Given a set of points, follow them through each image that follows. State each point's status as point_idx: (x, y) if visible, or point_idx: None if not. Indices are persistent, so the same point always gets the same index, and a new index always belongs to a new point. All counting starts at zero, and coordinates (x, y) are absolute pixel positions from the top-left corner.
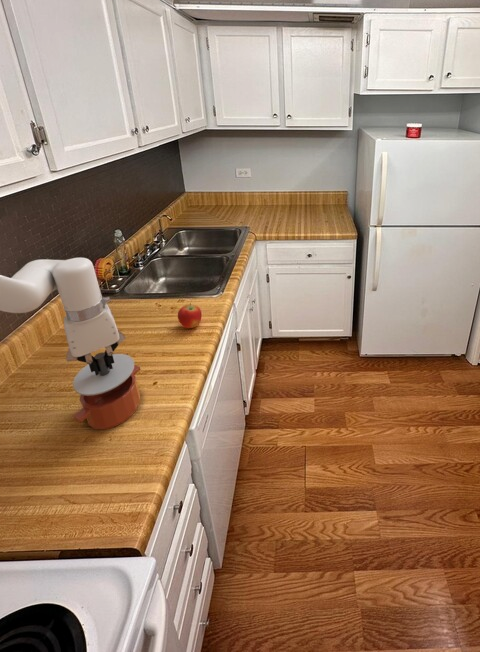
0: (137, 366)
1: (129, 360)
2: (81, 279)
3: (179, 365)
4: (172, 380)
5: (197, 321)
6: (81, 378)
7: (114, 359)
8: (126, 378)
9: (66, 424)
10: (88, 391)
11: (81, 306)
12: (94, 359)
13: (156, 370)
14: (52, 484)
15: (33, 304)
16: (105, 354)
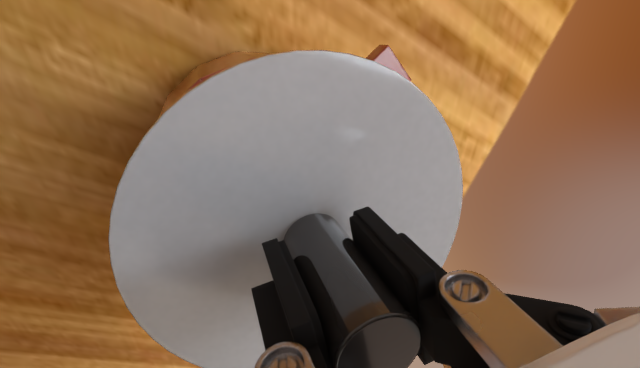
0: (401, 70)
1: (445, 181)
2: None
3: (484, 23)
4: (444, 97)
5: None
6: (167, 253)
7: (370, 133)
8: None
9: (73, 160)
10: (239, 360)
11: None
12: (329, 363)
13: (410, 3)
14: (118, 359)
15: None
16: (413, 316)
